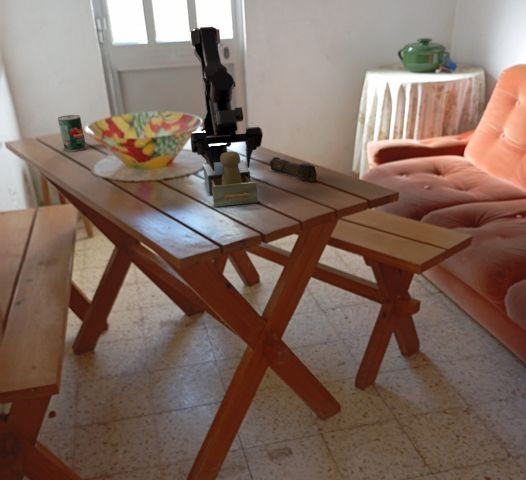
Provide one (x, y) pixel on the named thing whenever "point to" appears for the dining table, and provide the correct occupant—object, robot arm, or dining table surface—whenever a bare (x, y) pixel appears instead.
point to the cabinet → (218, 173)
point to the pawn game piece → (230, 168)
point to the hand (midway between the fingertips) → (231, 168)
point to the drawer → (233, 192)
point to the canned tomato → (72, 132)
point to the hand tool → (294, 169)
